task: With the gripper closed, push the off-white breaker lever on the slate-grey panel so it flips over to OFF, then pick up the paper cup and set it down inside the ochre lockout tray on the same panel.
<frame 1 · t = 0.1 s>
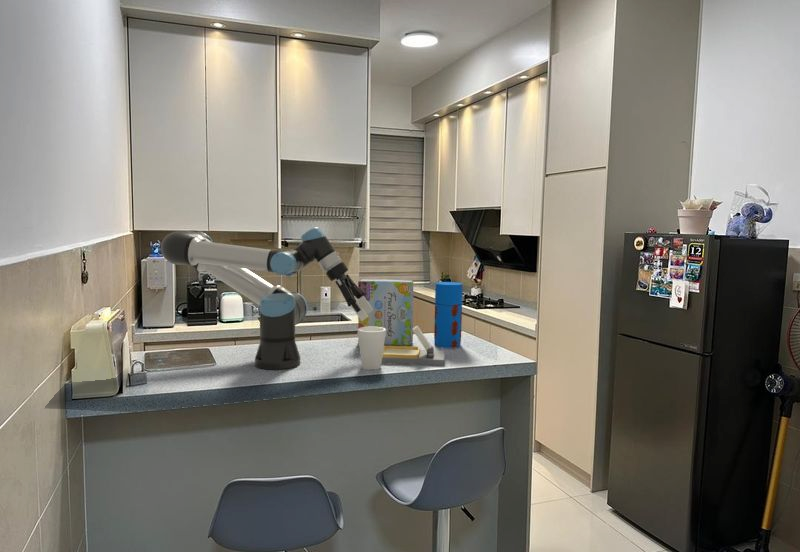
hand: (367, 315, 193), 15 cm above the counter, tool tilted 35°, fingers open, 13 cm apart
snack box: (385, 343, 219), on the counter
foam cup: (371, 367, 182), on the counter
breaker lever: (423, 340, 192), point 7 cm above the counter, hinge at -35.0°
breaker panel: (407, 359, 193), on the counter
thermos: (447, 345, 217), on the counter
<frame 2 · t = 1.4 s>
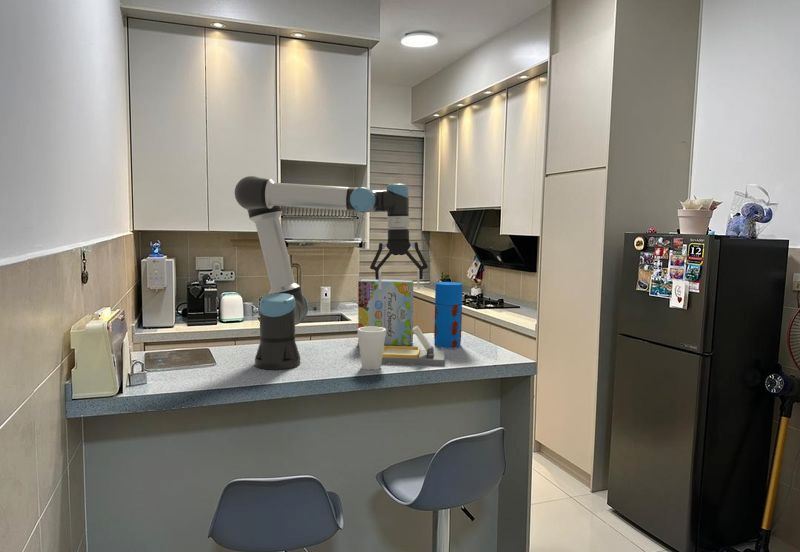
hand: (399, 288, 191), 25 cm above the counter, tool pointing down, fingers open, 13 cm apart
nothing on the counter moved.
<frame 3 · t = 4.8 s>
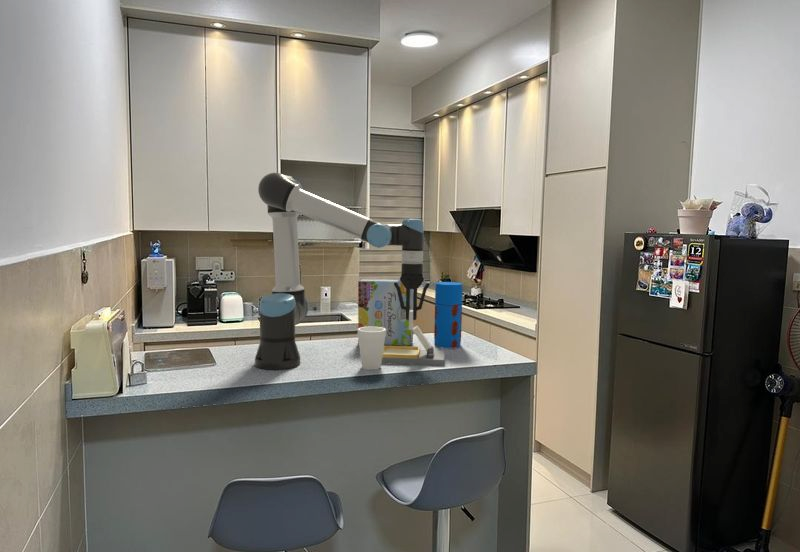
hand: (411, 328, 192), 11 cm above the counter, tool pointing down, fingers closed
breaker lever: (423, 340, 192), point 7 cm above the counter, hinge at -35.0°, touching gripper
everything else where it was.
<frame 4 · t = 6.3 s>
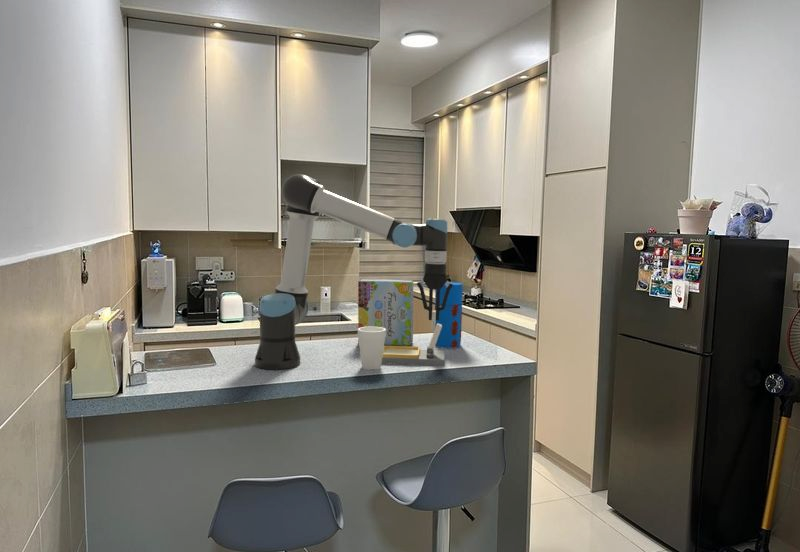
hand: (433, 329, 192), 11 cm above the counter, tool pointing down, fingers closed
breaker lever: (434, 339, 192), point 8 cm above the counter, hinge at 18.4°, touching gripper
everything else where it was.
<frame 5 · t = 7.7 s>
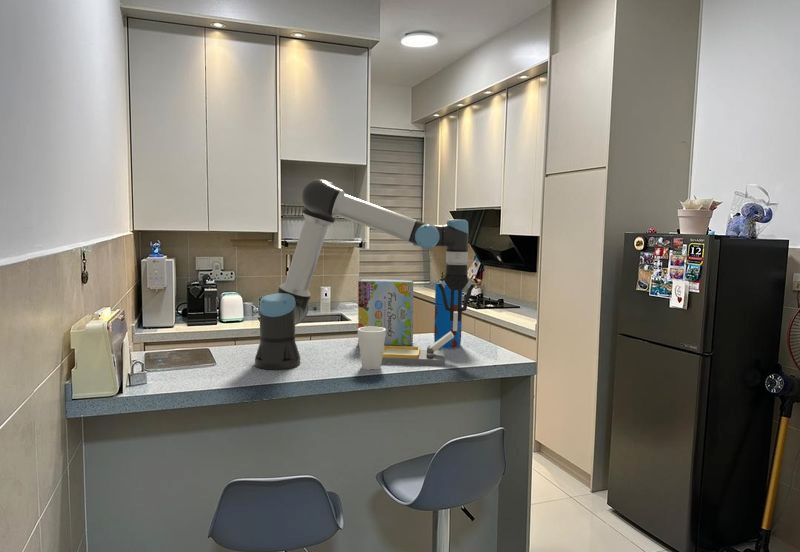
hand: (455, 330, 191), 11 cm above the counter, tool pointing down, fingers closed
breaker lever: (439, 343, 192), point 6 cm above the counter, hinge at 51.2°
everything else where it was.
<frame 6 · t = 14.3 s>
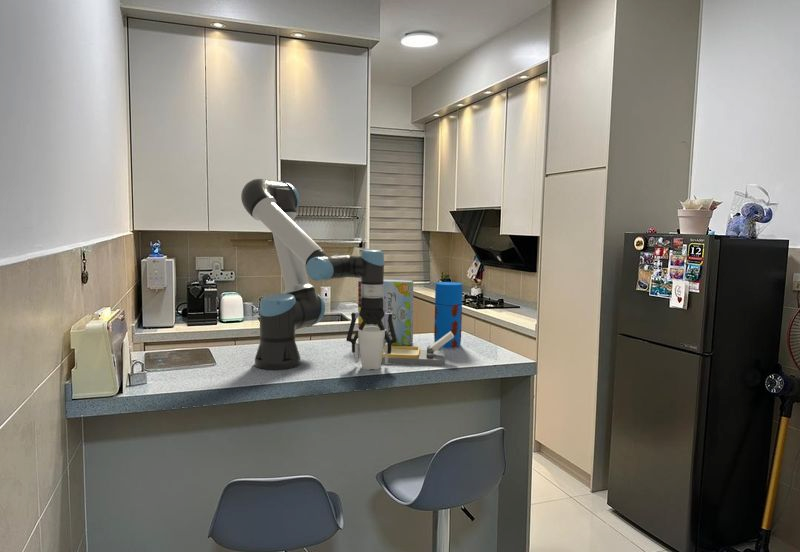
hand: (371, 362, 181), 2 cm above the counter, tool pointing down, fingers closed on foam cup, 9 cm apart
foam cup: (371, 367, 182), on the counter, touching gripper
everything else where it was.
when the fingers open (5 cm above the counter, at t = 19.8 s): foam cup drops 1 cm, resting on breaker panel.
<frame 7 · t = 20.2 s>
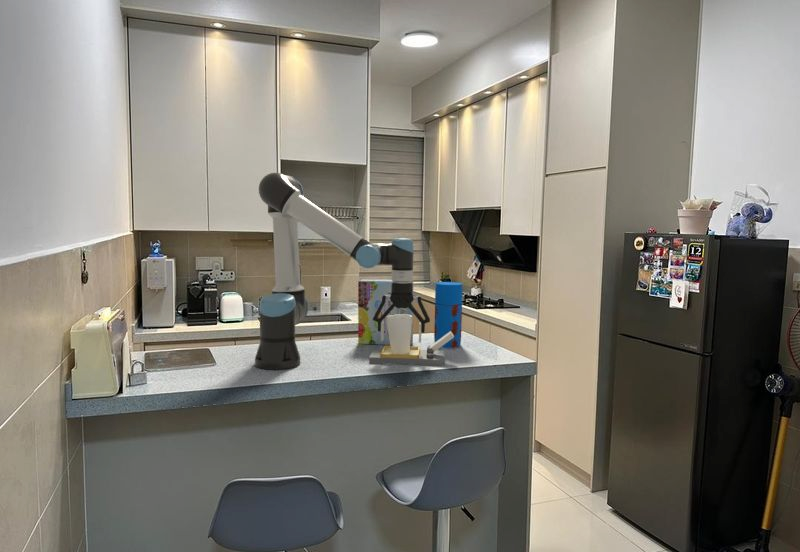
hand: (401, 341, 193), 6 cm above the counter, tool pointing down, fingers open, 13 cm apart
foam cup: (400, 352, 193), point 2 cm above the counter, touching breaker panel
everything else where it was.
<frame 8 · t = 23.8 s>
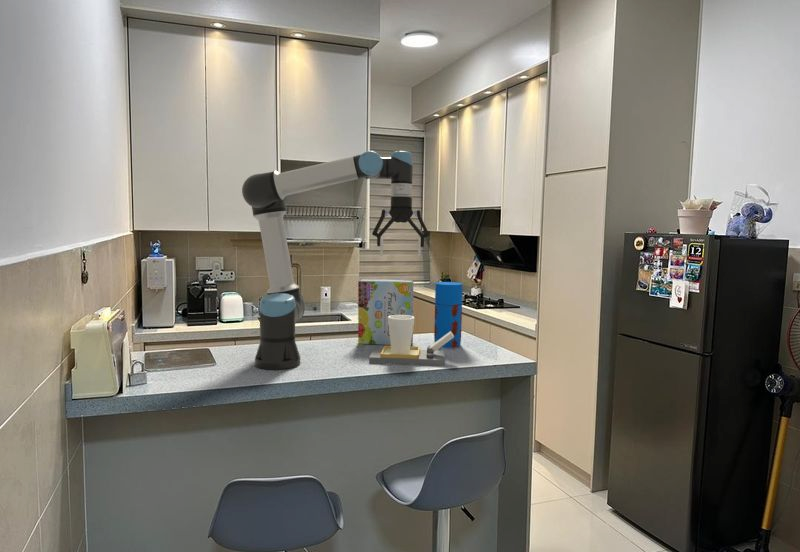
hand: (400, 256, 193), 37 cm above the counter, tool pointing down, fingers open, 13 cm apart
nothing on the counter moved.
at the end: breaker lever at +51° (first picture: -35°); foam cup inside the target area (0.1 cm from its centre), point 2.0 cm above the counter; foam cup tilted 0° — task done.
